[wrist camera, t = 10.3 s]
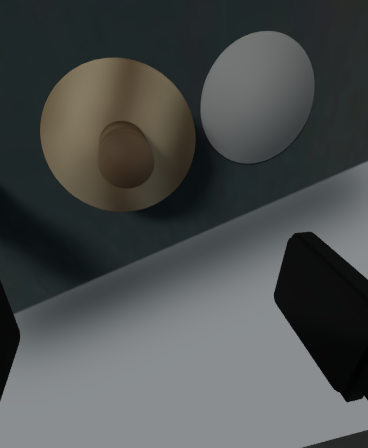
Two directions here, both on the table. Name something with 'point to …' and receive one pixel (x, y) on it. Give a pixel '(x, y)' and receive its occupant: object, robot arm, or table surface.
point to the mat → (257, 97)
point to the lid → (117, 134)
